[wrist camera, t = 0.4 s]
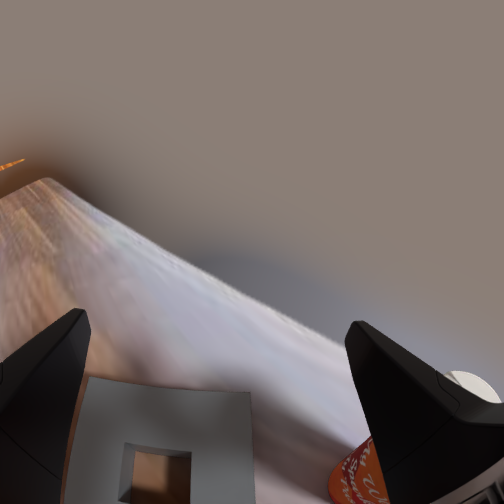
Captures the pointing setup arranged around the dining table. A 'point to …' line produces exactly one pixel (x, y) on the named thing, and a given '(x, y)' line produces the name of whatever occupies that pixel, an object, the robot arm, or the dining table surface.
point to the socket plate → (161, 441)
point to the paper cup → (366, 461)
